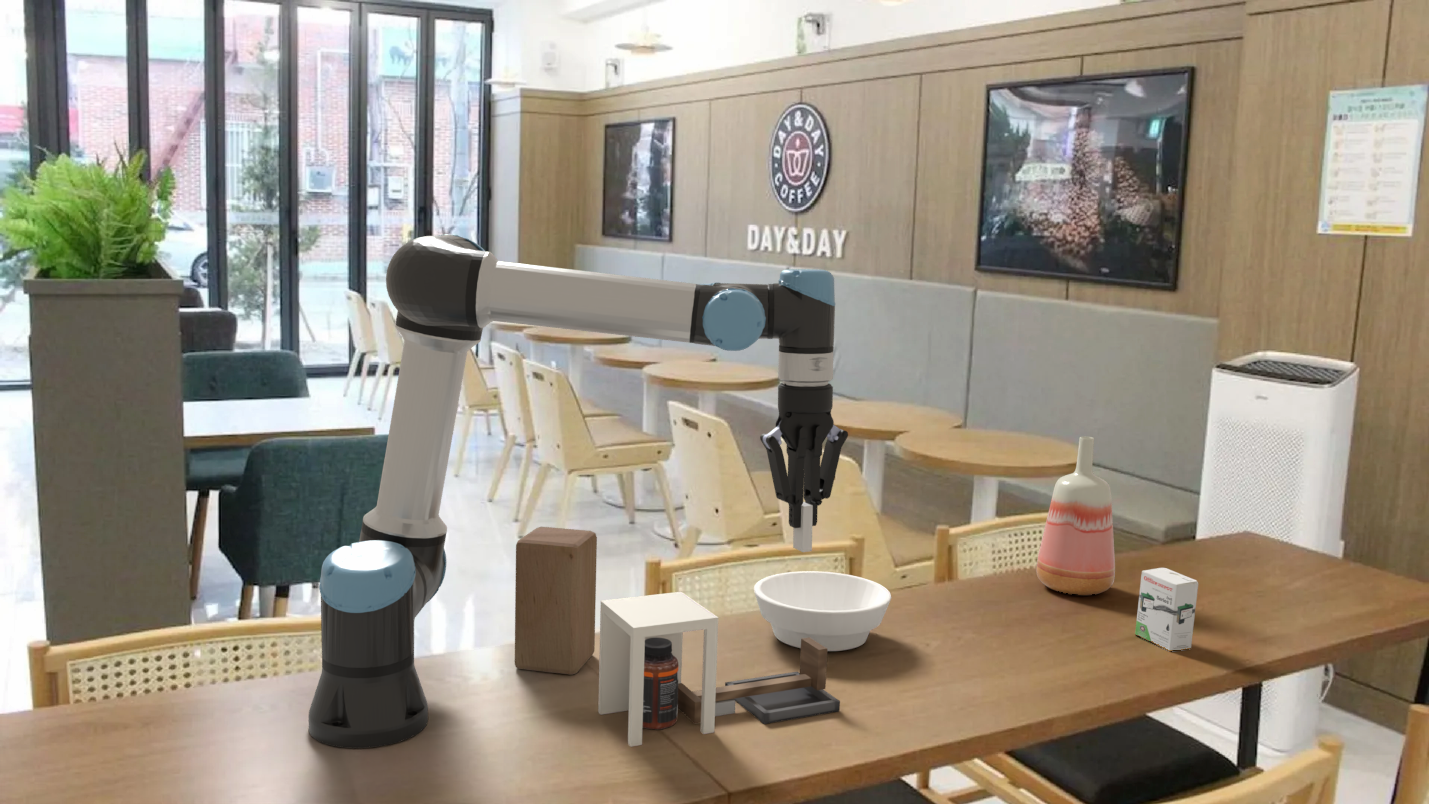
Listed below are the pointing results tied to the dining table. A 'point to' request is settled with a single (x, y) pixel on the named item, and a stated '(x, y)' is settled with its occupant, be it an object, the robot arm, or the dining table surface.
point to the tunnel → (625, 648)
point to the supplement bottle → (660, 684)
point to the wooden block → (555, 599)
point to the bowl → (821, 607)
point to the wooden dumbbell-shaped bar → (764, 682)
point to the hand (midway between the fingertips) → (802, 549)
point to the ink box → (1166, 608)
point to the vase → (1079, 531)
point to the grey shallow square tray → (787, 702)
